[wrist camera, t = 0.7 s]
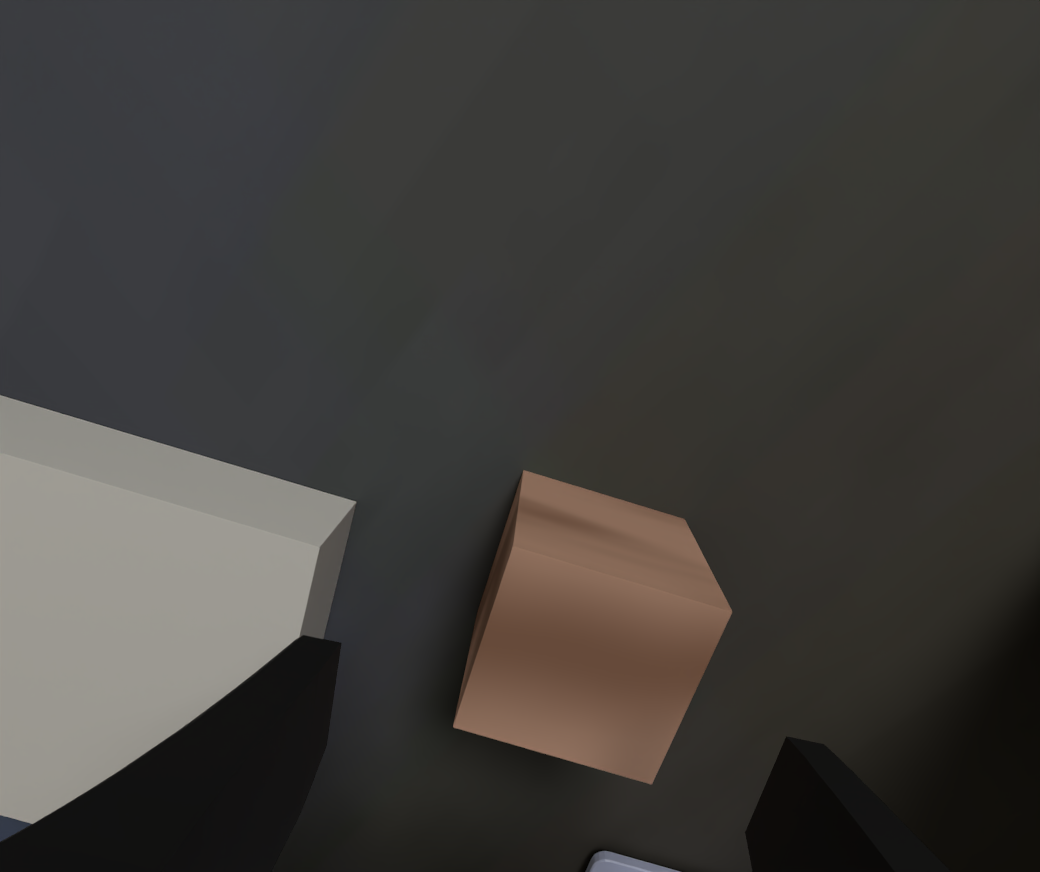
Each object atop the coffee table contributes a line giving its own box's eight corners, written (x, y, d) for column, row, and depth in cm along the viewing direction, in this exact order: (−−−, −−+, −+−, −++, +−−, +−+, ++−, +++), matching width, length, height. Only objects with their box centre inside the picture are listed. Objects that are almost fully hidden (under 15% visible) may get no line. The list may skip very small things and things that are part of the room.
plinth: (284, 798, 22) (243, 881, 19) (-48, 705, 21) (-142, 775, 18) (356, 501, 18) (319, 547, 15) (-36, 384, 18) (-150, 408, 15)
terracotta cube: (626, 654, 19) (651, 784, 15) (477, 610, 19) (452, 727, 14) (683, 517, 18) (732, 611, 13) (523, 469, 18) (513, 545, 13)
